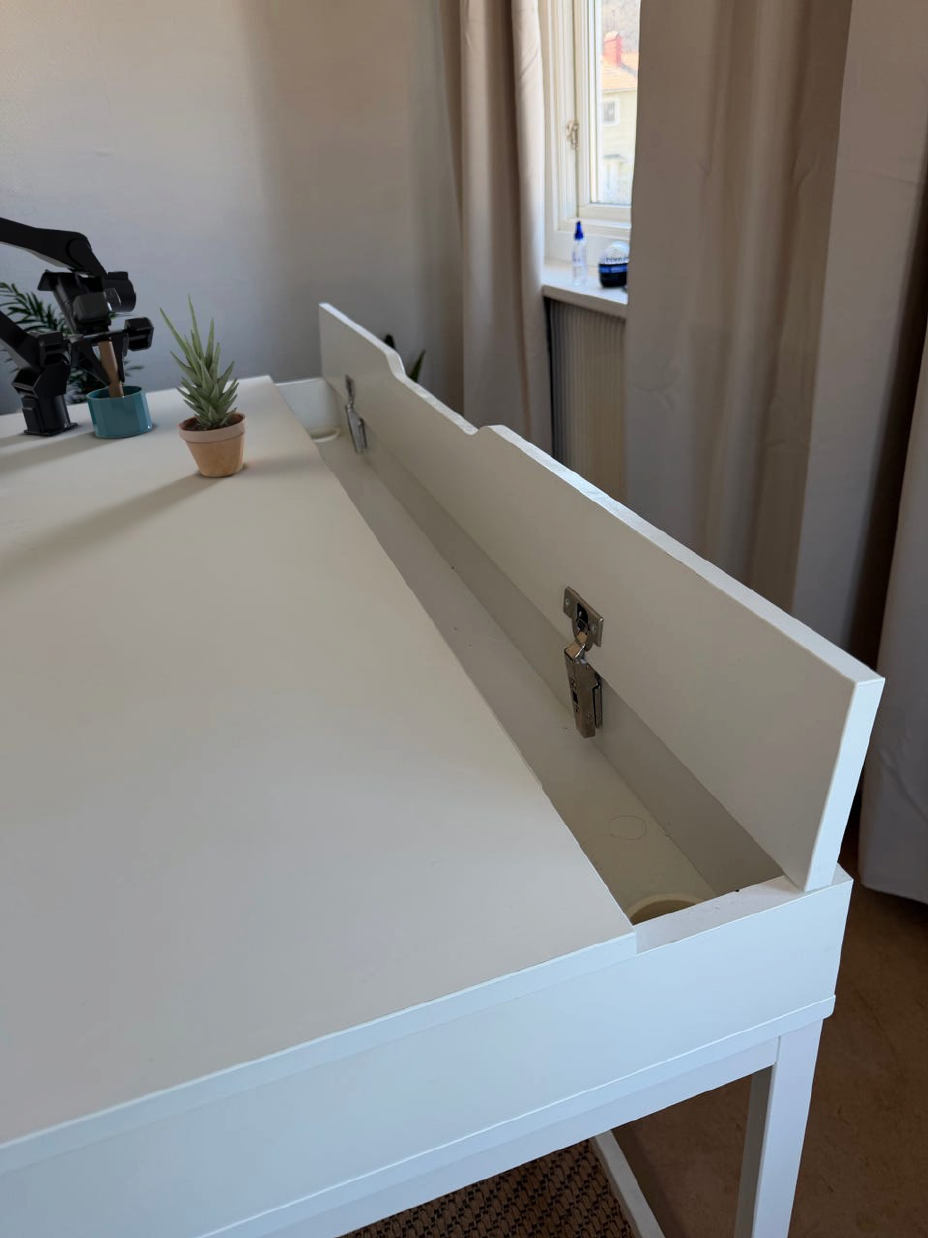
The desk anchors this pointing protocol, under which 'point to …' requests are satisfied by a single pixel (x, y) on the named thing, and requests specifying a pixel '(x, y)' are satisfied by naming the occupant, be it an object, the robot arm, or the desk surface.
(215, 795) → the desk surface
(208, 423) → the potted plant
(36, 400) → the robot arm
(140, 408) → the teal paint pail
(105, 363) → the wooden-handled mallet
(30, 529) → the desk surface
